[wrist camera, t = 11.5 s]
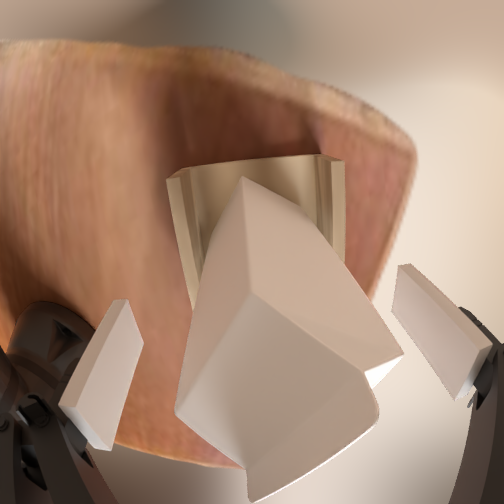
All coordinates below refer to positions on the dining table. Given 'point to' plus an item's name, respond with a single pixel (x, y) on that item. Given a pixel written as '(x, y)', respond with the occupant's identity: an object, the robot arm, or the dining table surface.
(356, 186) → the dining table surface
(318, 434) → the milk
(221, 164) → the u rest
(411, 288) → the robot arm
